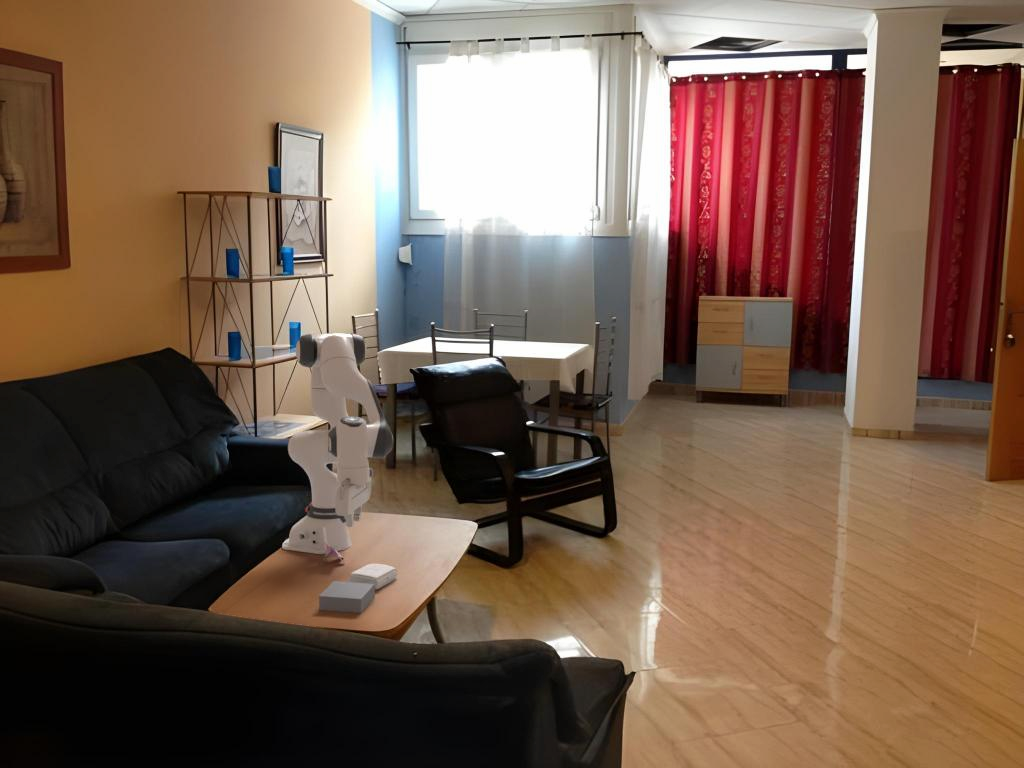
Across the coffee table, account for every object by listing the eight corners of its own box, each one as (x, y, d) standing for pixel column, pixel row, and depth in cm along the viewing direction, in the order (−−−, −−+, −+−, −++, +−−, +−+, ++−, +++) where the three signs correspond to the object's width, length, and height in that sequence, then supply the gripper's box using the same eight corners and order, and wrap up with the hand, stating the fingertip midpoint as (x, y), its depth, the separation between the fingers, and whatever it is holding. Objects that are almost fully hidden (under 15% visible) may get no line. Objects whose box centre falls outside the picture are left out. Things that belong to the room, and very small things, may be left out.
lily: (336, 574, 279) (347, 544, 281) (301, 560, 281) (313, 531, 283) (346, 574, 291) (357, 545, 293) (312, 561, 293) (324, 533, 294)
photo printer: (378, 591, 265) (400, 578, 276) (378, 577, 264) (400, 565, 275) (348, 586, 269) (371, 573, 280) (348, 572, 268) (371, 560, 279)
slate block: (319, 609, 250) (319, 595, 250) (334, 594, 262) (334, 581, 261) (361, 613, 248) (361, 599, 248) (374, 597, 260) (374, 583, 260)
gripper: (351, 484, 245) (352, 534, 247) (374, 468, 265) (375, 514, 267) (329, 483, 246) (329, 533, 248) (353, 467, 266) (354, 513, 268)
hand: (353, 523), depth 257 cm, fingers open, 5 cm apart
